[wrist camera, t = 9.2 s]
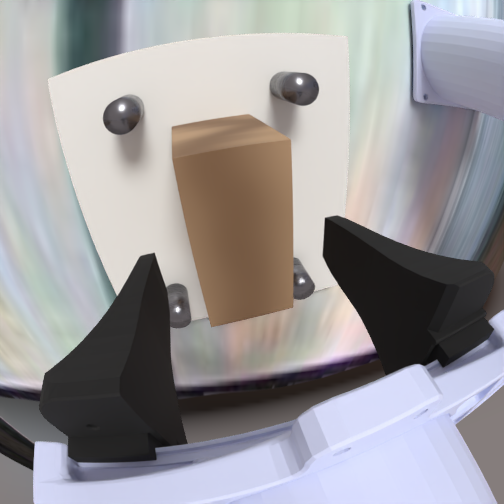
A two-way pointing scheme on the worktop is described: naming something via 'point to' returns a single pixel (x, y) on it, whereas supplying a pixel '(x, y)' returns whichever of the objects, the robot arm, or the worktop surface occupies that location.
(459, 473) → the robot arm
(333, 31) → the worktop surface
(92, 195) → the plate
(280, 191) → the walnut block
